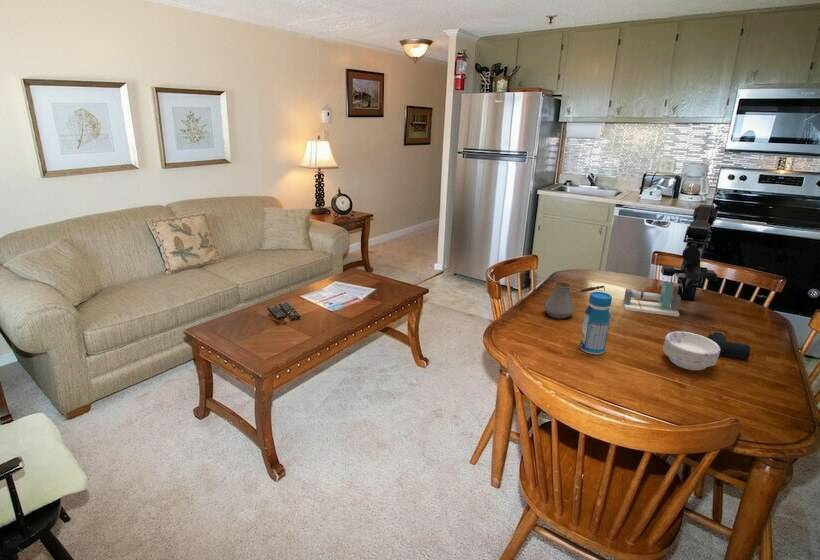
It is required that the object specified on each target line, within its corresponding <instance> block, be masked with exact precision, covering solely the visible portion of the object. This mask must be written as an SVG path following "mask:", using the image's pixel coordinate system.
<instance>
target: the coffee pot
mask: <svg viewBox="0 0 820 560" xmlns="http://www.w3.org/2000/svg"><path fill="white" fill-rule="evenodd" d="M553 286H554V290H553V291H552V293H551V295H550V296H549V298H548V299H547V301H546V302H545V304H544V310H545V312H546V313H547V314H548V316H550V317H551V318H555V319H567V318H569V317H570V316H572V315H573V313H575V307H574V304H573V300H572V298H571V295H575V294H578V293H584V292H593V291H596V290H600V289H603V292H605V291H606V287H605V285H601V286H598V285H597V286H592V287H591V286H590V287H587V288H583V289H578V290H574V291H569V290H570V288H572V285H571V284H570V283H568V282H563V281H562V282H561V281H557V282H555V283H553Z"/></svg>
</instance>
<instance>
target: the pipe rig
mask: <svg viewBox="0 0 820 560" xmlns="http://www.w3.org/2000/svg"><path fill="white" fill-rule="evenodd" d="M632 298H635V299H632ZM662 298H663V294H661V293H656V292H648V291H647V292H646V291H639V290H632V288H625V292H624V298H622V304H623V308H624V310H626V311H633V312H639V313H640V312H641V313H648V314H653V315H654V314H656V315H664V316H671V317H678V318H679V317H680V312H679V309H680V305H681V301H682V299H681V297H680V295H678V294H676V293H673V295H672V299H671V304H670V308H666V307H661V305H660V303H659V301H662ZM638 299H640V300H638ZM641 299H642V300H641ZM645 300H652V301H645ZM654 301H658V302H654Z"/></svg>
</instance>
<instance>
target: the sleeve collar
mask: <svg viewBox="0 0 820 560" xmlns="http://www.w3.org/2000/svg"><path fill="white" fill-rule="evenodd" d="M674 290H675V286H674V284H673V283H672V282H669V281H663V282H662V286H661V291H660V294H663V298H662V301H658V303H660V305H661V307H666V308H670V304H672V302H671V299H672V295H674Z"/></svg>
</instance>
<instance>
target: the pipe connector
mask: <svg viewBox="0 0 820 560" xmlns="http://www.w3.org/2000/svg"><path fill="white" fill-rule="evenodd" d="M707 338H709V339H711V340H712V341H714V342H715V343H717V344H718V345H719V347H720V353H719V356H723V357H728V358H734V359H738V358H739V359H740V360H744V359H745V361H747V360H749V358H750V354H751V346H750V344H744V343H738V342H732V341H727V337H726V334H725V333H724V332H723V331H717V330H709V333H708V335H707Z"/></svg>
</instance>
